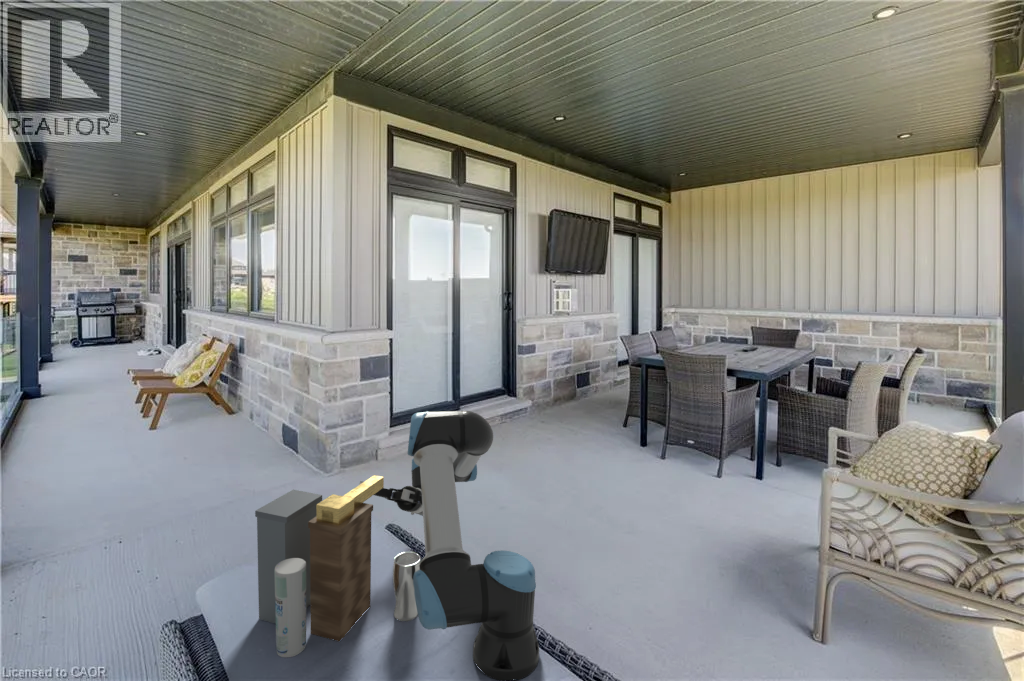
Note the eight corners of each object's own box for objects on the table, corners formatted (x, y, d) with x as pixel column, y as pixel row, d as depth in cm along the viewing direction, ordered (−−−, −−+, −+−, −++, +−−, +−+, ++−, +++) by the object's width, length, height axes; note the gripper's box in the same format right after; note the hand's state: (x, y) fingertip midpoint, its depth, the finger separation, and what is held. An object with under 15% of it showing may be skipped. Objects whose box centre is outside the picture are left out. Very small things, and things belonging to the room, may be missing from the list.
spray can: (310, 649, 114) (310, 567, 111) (280, 662, 109) (279, 577, 107) (301, 633, 119) (301, 554, 116) (272, 645, 114) (270, 563, 112)
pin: (338, 525, 114) (338, 509, 114) (316, 521, 116) (316, 504, 115) (388, 488, 135) (388, 474, 135) (369, 484, 137) (369, 470, 136)
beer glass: (413, 625, 123) (414, 568, 121) (387, 620, 124) (388, 564, 123) (424, 607, 130) (425, 553, 128) (399, 602, 131) (400, 549, 129)
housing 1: (294, 588, 135) (293, 489, 132) (322, 595, 133) (322, 495, 129) (257, 618, 123) (255, 510, 119) (287, 627, 120) (286, 517, 117)
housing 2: (341, 600, 131) (342, 498, 128) (372, 607, 129) (373, 504, 125) (308, 633, 119) (308, 521, 115) (341, 642, 116) (341, 528, 113)
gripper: (445, 518, 152) (418, 511, 133) (373, 505, 159) (338, 496, 140) (451, 493, 155) (425, 483, 136) (380, 481, 162) (346, 469, 143)
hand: (381, 489), depth 138 cm, fingers open, 13 cm apart
